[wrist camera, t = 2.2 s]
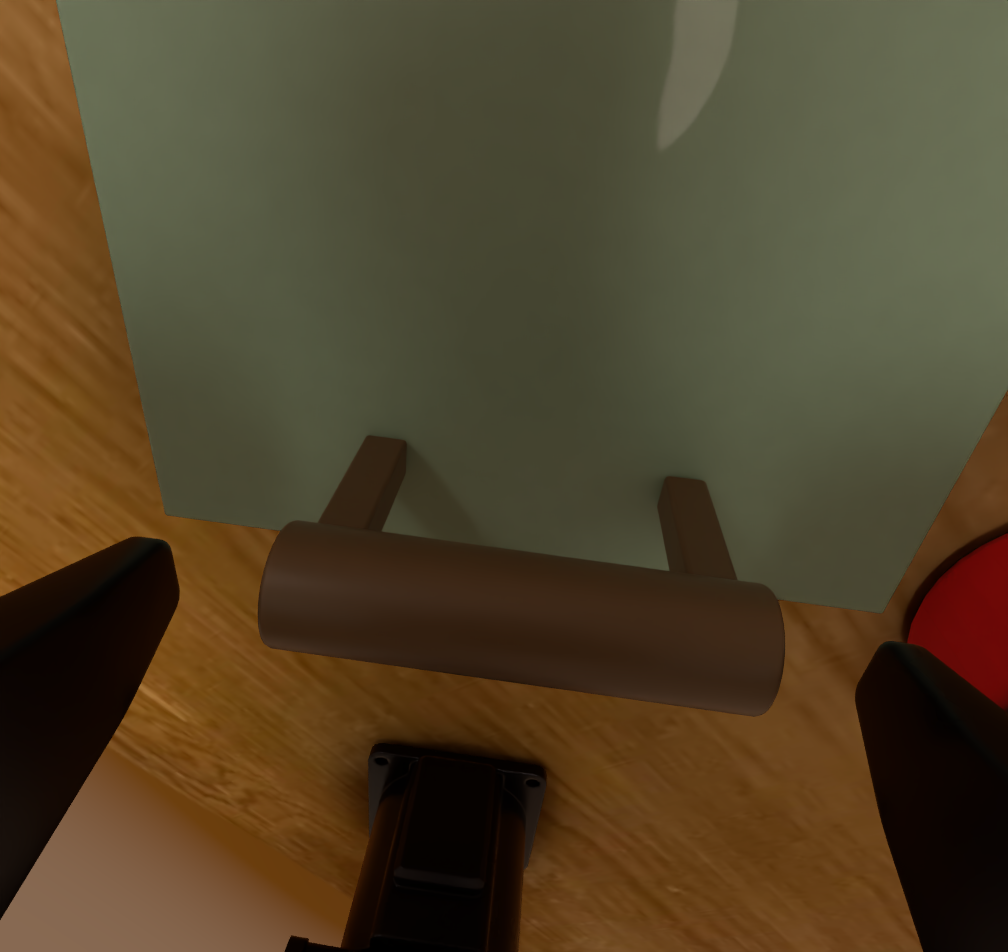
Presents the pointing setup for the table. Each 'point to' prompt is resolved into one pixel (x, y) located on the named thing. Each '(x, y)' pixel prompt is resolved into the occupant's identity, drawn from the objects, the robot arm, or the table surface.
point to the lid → (558, 311)
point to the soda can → (970, 620)
